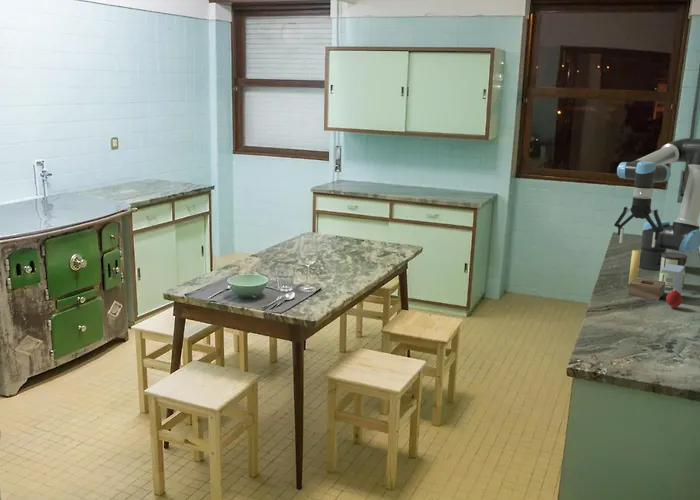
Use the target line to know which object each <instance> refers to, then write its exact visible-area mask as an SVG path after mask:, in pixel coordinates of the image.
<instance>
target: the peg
mask: <svg viewBox="0 0 700 500" xmlns="http://www.w3.org/2000/svg"><path fill="white" fill-rule="evenodd" d="M640 250H641V249H632V250H631V256H630V265H629V266H630V267H629V276H628V286H629V284H630V283H631V282H632V281H633V280H634V279H635V278H639V271H640V267H639V263H640V254H641V251H640Z"/></svg>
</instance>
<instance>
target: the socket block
mask: <svg viewBox="0 0 700 500" xmlns="http://www.w3.org/2000/svg"><path fill="white" fill-rule="evenodd" d="M665 288H666V287H665V282H662V281H659V280H655V279H650V278H649V279H648V278H642V277H638V278H635V279H634V280H633V281H632V282H631V283H630V284H629V285H628V293H627V294H628V296H633V297H638V296H639V297H641V298H646V299H652V300H657V301H659V299H661V297H662V296H663V295H664V294H665ZM639 297H638V298H639Z"/></svg>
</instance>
